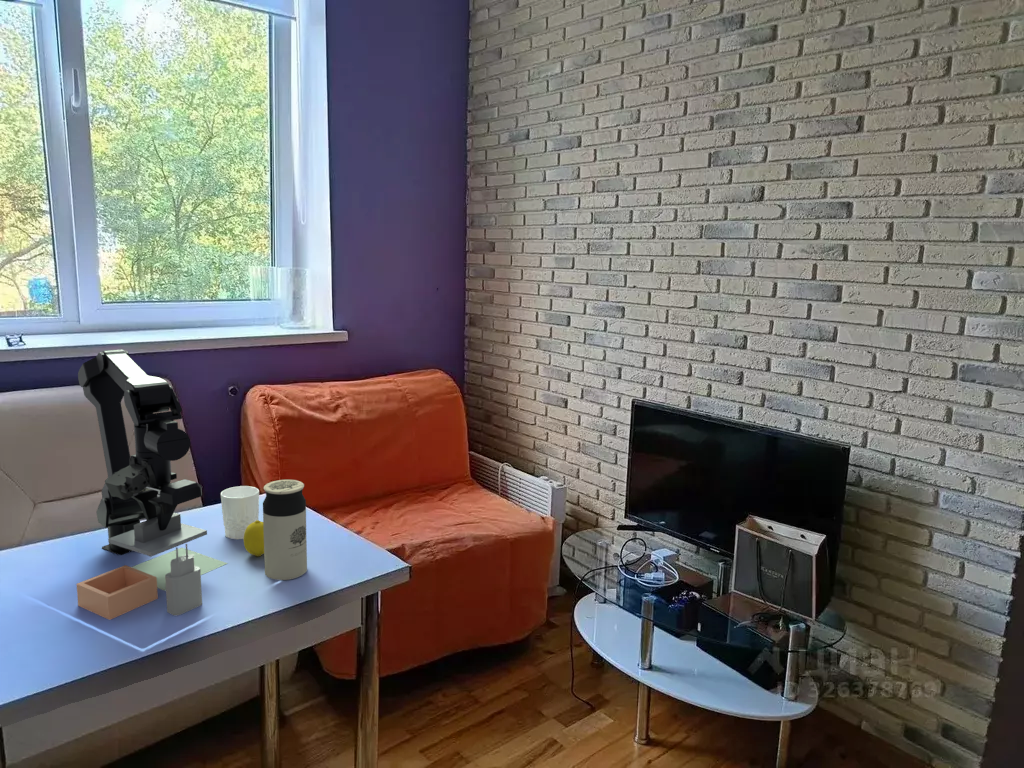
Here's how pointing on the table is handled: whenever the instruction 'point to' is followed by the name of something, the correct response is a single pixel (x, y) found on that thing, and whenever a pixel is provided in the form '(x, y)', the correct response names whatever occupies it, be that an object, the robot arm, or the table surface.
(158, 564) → the mat
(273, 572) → the travel mug
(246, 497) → the white cup
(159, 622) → the table surface
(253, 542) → the lemon
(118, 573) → the dish
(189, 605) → the power adapter
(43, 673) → the table surface
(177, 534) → the lid
